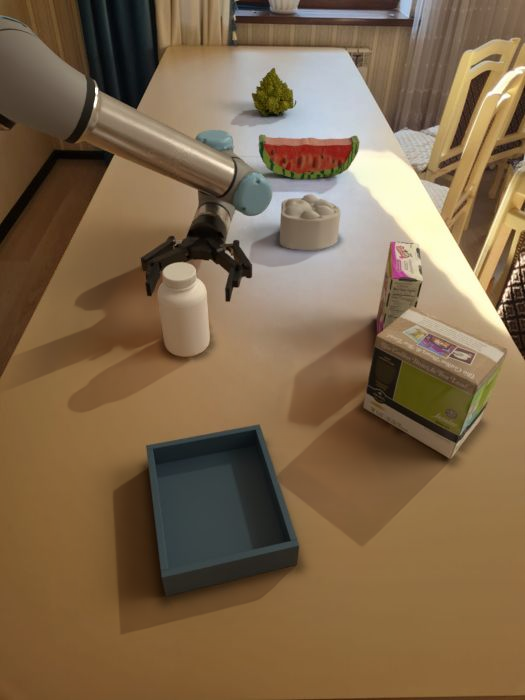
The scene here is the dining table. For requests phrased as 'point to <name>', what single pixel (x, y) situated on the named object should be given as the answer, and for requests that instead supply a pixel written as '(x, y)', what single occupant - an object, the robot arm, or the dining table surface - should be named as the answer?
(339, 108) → the dining table surface
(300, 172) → the fruit slice
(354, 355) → the dining table surface
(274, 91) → the vegetable
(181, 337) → the pill bottle
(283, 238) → the lumpy-topped squat cylinder
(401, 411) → the tea box
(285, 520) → the tray
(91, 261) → the dining table surface
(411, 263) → the candy bar box
